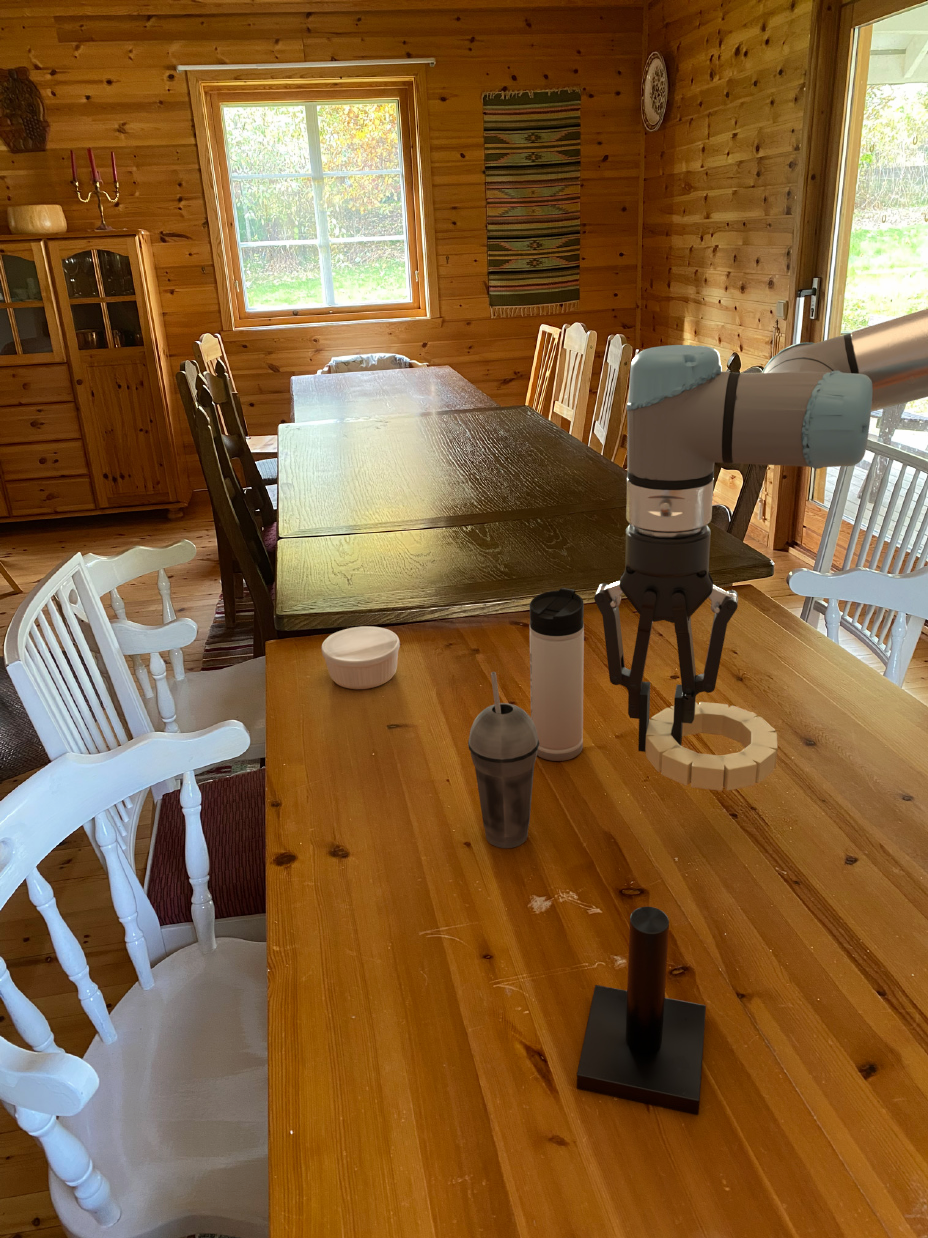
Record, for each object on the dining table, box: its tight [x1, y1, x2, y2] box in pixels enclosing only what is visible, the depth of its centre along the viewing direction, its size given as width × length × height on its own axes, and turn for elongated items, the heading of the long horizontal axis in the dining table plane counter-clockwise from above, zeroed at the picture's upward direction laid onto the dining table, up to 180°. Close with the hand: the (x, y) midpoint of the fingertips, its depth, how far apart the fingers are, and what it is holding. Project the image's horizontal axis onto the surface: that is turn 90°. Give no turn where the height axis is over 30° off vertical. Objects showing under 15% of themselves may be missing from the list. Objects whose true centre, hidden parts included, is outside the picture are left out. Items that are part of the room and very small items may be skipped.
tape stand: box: [576, 906, 707, 1115], centre depth 69 cm, size 9×9×14 cm
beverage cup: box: [467, 671, 540, 849], centre depth 93 cm, size 7×7×20 cm
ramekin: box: [321, 625, 401, 690], centre depth 131 cm, size 11×11×5 cm
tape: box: [644, 701, 779, 792], centre depth 91 cm, size 12×12×2 cm
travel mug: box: [529, 587, 585, 762], centre depth 108 cm, size 6×7×20 cm
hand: (660, 745), depth 92 cm, fingers closed on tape, 3 cm apart
